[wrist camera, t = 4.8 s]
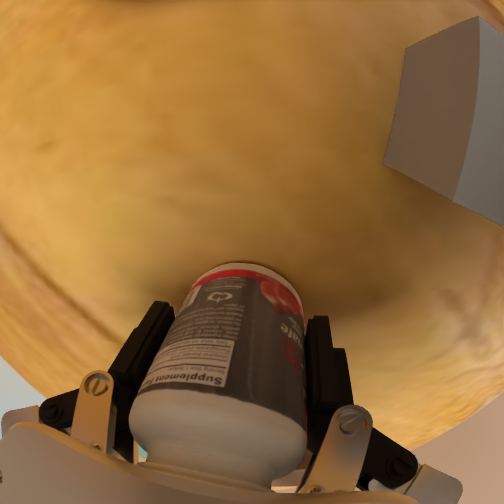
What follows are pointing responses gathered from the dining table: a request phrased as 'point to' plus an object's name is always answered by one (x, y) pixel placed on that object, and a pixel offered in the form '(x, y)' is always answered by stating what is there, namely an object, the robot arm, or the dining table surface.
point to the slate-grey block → (454, 117)
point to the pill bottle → (228, 384)
